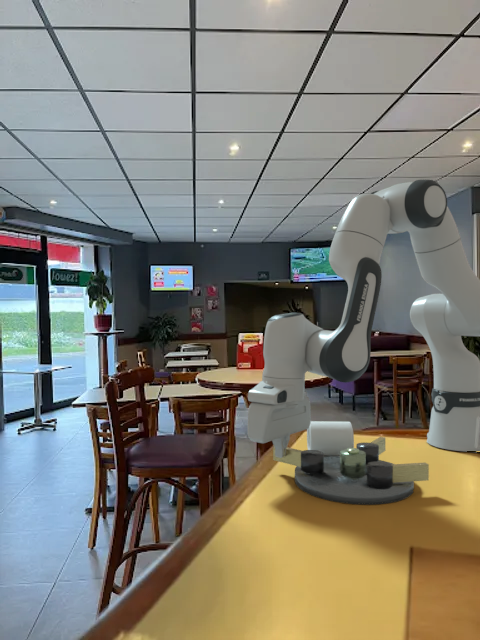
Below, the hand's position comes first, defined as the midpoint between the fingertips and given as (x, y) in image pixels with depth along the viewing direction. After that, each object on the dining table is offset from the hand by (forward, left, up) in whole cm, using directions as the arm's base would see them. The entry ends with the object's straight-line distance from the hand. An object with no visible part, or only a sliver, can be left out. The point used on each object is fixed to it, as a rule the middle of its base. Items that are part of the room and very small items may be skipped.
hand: (280, 456), depth 103 cm
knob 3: (-14, +19, -2) cm, 24 cm away
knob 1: (-3, +2, -2) cm, 4 cm away
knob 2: (-21, +4, -2) cm, 21 cm away
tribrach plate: (-11, +10, -4) cm, 15 cm away
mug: (-19, -10, -4) cm, 22 cm away
